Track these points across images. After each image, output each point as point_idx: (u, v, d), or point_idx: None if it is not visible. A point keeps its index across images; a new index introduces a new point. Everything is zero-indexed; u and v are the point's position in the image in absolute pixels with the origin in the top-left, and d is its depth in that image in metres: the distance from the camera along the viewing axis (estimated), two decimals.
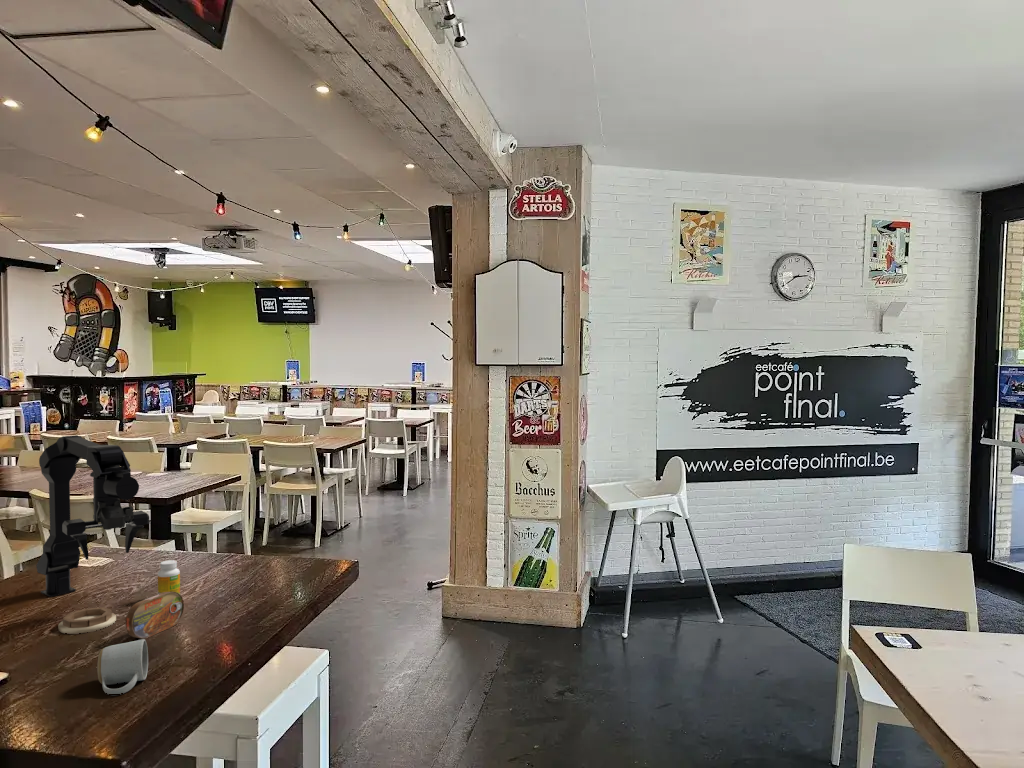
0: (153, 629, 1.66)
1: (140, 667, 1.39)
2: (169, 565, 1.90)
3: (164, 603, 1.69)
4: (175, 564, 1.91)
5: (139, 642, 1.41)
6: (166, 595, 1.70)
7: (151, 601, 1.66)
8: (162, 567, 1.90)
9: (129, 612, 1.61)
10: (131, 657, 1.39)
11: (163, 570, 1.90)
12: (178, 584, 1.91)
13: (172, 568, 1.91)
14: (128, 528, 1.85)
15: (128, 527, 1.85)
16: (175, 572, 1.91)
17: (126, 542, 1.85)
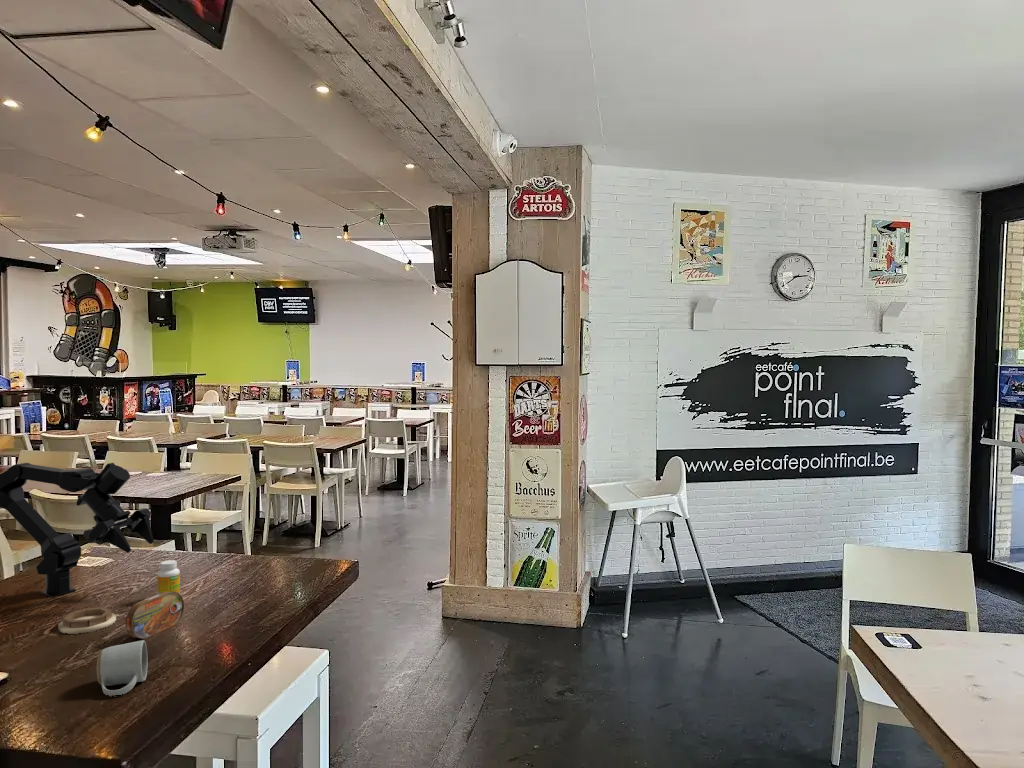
0: (153, 629, 1.66)
1: (139, 668, 1.38)
2: (169, 565, 1.90)
3: (164, 603, 1.69)
4: (175, 564, 1.91)
5: (138, 643, 1.41)
6: (166, 595, 1.70)
7: (151, 601, 1.66)
8: (162, 567, 1.90)
9: (129, 612, 1.61)
10: (130, 658, 1.38)
11: (163, 570, 1.90)
12: (178, 584, 1.91)
13: (172, 568, 1.91)
14: None
15: None
16: (175, 572, 1.91)
17: None
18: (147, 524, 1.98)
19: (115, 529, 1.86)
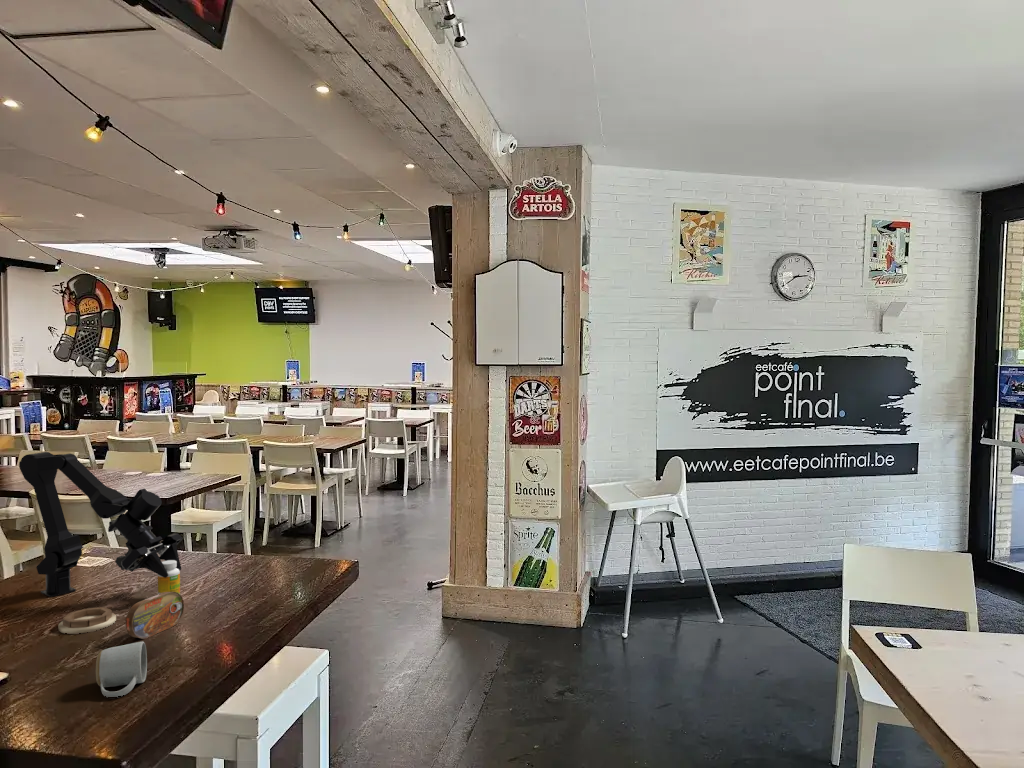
0: (153, 629, 1.66)
1: (139, 670, 1.37)
2: (169, 565, 1.90)
3: (164, 603, 1.69)
4: (175, 564, 1.91)
5: (138, 644, 1.40)
6: (166, 595, 1.70)
7: (151, 601, 1.66)
8: None
9: (129, 612, 1.61)
10: (129, 660, 1.37)
11: None
12: (178, 584, 1.91)
13: (172, 568, 1.91)
14: None
15: None
16: (175, 572, 1.91)
17: None
18: (174, 551, 1.95)
19: (153, 555, 1.87)
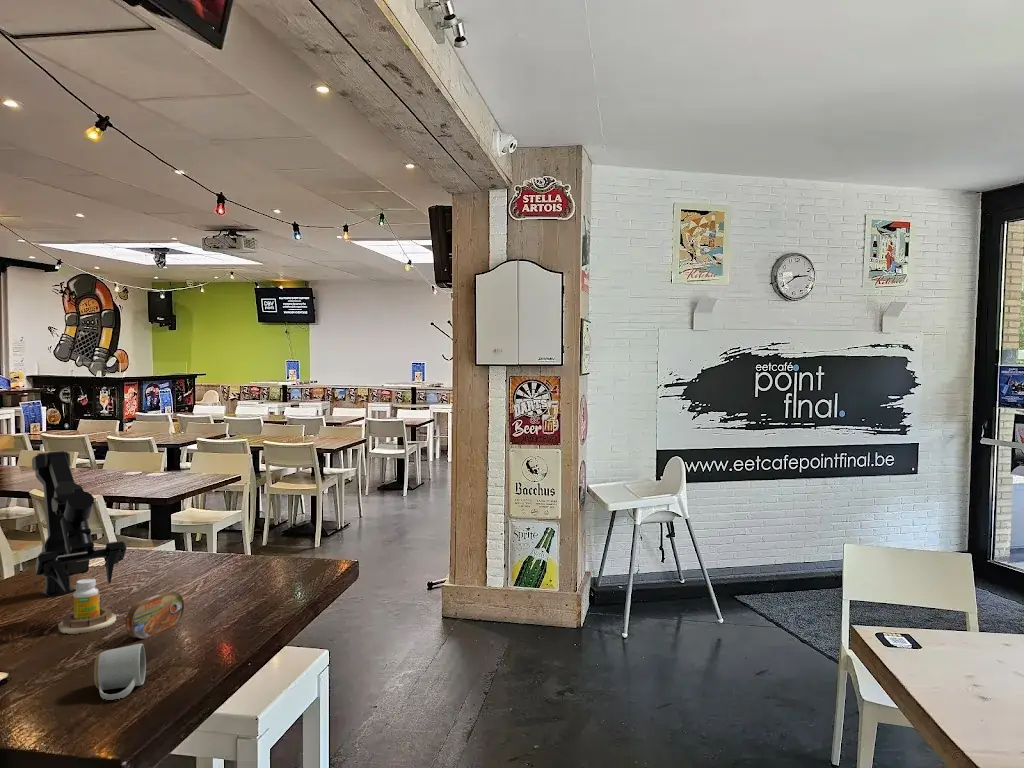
0: (153, 629, 1.66)
1: (138, 672, 1.36)
2: (80, 585, 1.70)
3: (164, 603, 1.69)
4: (88, 584, 1.70)
5: (136, 646, 1.39)
6: (166, 595, 1.70)
7: (151, 601, 1.66)
8: None
9: (129, 612, 1.61)
10: (128, 662, 1.36)
11: None
12: (90, 607, 1.70)
13: (84, 588, 1.70)
14: None
15: None
16: (85, 593, 1.70)
17: None
18: (110, 560, 1.76)
19: (53, 564, 1.68)
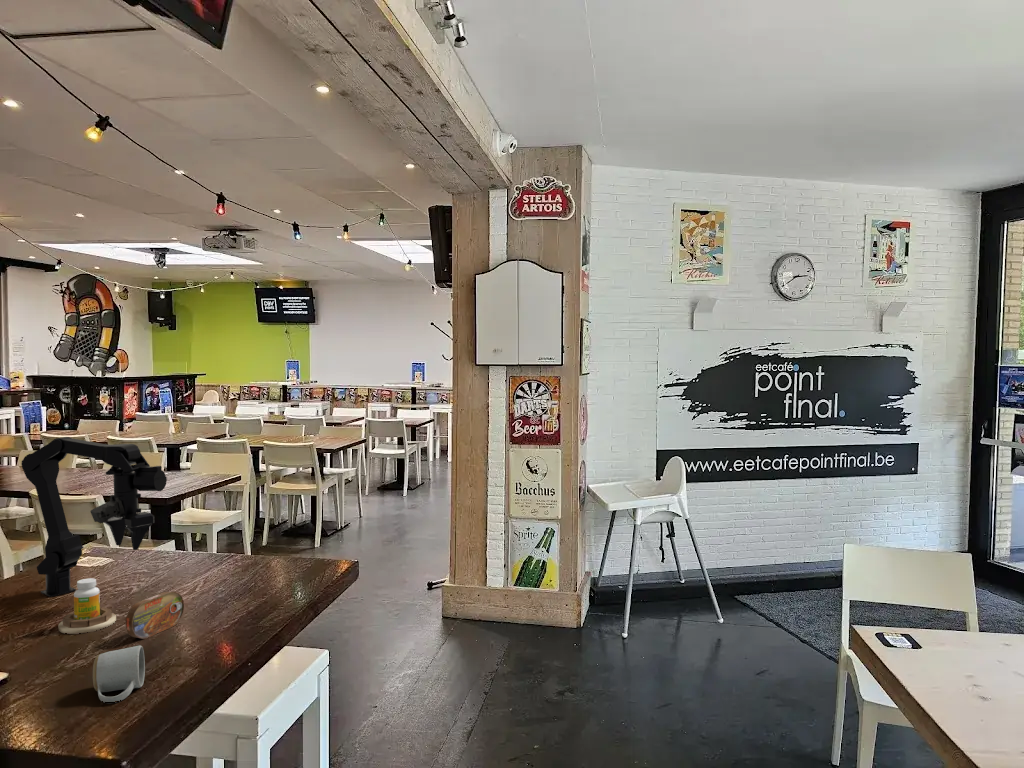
0: (153, 629, 1.66)
1: (136, 674, 1.35)
2: (80, 585, 1.70)
3: (164, 603, 1.69)
4: (89, 584, 1.70)
5: (135, 648, 1.38)
6: (166, 595, 1.70)
7: (151, 601, 1.66)
8: (77, 585, 1.71)
9: (129, 612, 1.61)
10: (127, 664, 1.35)
11: (78, 589, 1.71)
12: (90, 608, 1.70)
13: (84, 588, 1.70)
14: None
15: None
16: (86, 593, 1.70)
17: None
18: None
19: None
